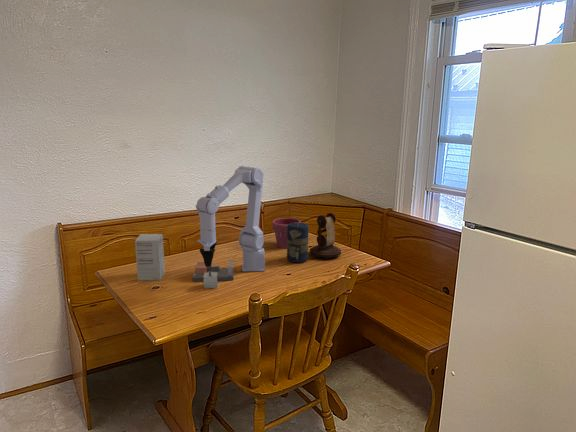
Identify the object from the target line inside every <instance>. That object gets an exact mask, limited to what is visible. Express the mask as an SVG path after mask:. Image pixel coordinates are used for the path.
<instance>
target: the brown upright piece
mask: <svg viewBox="0 0 576 432" xmlns="http://www.w3.org/2000/svg"><path fill="white" fill-rule="evenodd" d="M336 219H337V218H336V216H335V215H334V213H332V212H329V213H327V214H326V215H325V216H324V215H318V217H317V218H316V224H317V225H318V227H317V229H318V230H317V231H316V233H317V237H316V243H317V244H316V245H313V246H312V247H311V248H310V249H309V254H310V256H314V257H318V258H325V259H326V261H328V260H329V258H335V257H338V256H341V255H342V250H341V248H339V247H338V246H335V241H336V235H335V228H336V227H335V223H336ZM322 233H326V234H325V236H324V235H323V234H322Z"/></svg>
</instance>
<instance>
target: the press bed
mask: <svg viewBox="0 0 576 432" xmlns="http://www.w3.org/2000/svg"><path fill="white" fill-rule="evenodd" d="M233 266H234V265H233V259H228V266H227V267H226V268H225V267H224V268H222V267H221V268H220V265H211V267H207V273H208V272H210V271H211V272H217V274H218V282H220V281H222V282H223V281H234V276H235V268H234V267H233ZM195 268H196V265H195V266H194V273H192V282H204V274H196V270H195Z"/></svg>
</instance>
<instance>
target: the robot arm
mask: <svg viewBox="0 0 576 432" xmlns="http://www.w3.org/2000/svg"><path fill="white" fill-rule="evenodd" d="M263 181H264V172H263V170H262V169H261V168H260V167H252V166H251V167H250V166H244V165H240V166H238V168H235V170H234V173H233V174H232V176H231V177H230V178H229V179H228V180H227V181H226V182H225V183H224V184H223V185H221V184H220V185H216V186H215V187H214V189H212V190H211V191H210V192H208V193H207V194H206V195H205V196H201V197H199V199H198V200H197V201H196V205H195V208H196V211H197V212H198V216H199V229H200V230H199V231H200V233H199V234H200V238H199V239H197V243H200V244H201V245H202V246H203V247H202V248H199V253H200V254H201V256H202V259H203V262H204V263H205V266H206V267H211V266H212V264H213V259H214V254H215V251H216V245H217V243H218V241H217V236H216V235H217V233H216V232H217V231H216V230H217V229H216V227H217V226H216V213H217V212H218V210H219V207H220V205H221V204H222V203H223V202H224V201H225V200H227V199H228V198H229V195H230V192H231V191H233V189H235V188H236V187H238V186H239V185H240V184H244V185H245V186H246V188H247V189H248V199H247V200H248V201H247V210H246V218H245V219H246V221H245V226H244V227H242V228H241V230H240V234H239V236H238V244H239V246H241V249H242V265H241V271H242V272H263V271H265V266H266V260H265V248H264V247H263V246H264V242H265V239H264V231H262V229H261V228H260V227H259V226H260V214H261V207H262V206H261V205H262V195H263V183H264V182H263Z"/></svg>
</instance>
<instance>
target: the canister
mask: <svg viewBox="0 0 576 432" xmlns="http://www.w3.org/2000/svg"><path fill="white" fill-rule="evenodd" d="M308 253H309V225H308V224H307V223H304V222H301V223H300V222H295V223H290V224H289V225H288V228H287V248H286V258H287V260H288V261H289V262H293V263H304V262H306V261H307V260H308V258H309V254H308Z"/></svg>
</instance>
